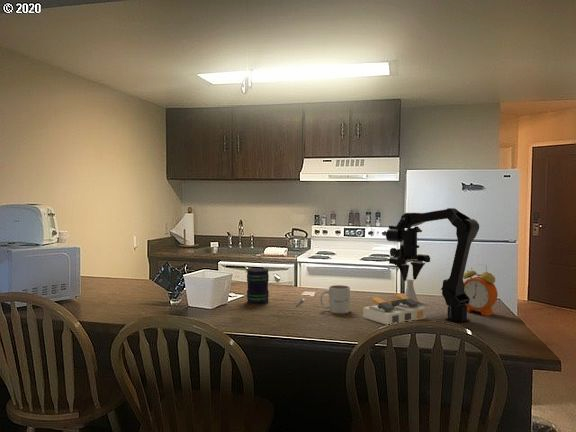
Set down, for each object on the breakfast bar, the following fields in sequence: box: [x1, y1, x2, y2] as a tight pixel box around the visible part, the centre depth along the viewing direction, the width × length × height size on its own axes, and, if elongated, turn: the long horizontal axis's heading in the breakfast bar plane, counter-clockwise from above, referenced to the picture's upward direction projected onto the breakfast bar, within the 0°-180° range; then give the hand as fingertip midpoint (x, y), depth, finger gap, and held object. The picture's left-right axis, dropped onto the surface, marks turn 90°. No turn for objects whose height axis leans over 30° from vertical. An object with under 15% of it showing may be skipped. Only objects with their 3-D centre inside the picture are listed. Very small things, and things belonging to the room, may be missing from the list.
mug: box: [319, 284, 351, 314], centre depth 199 cm, size 12×9×10 cm
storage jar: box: [246, 267, 270, 306], centre depth 214 cm, size 10×10×15 cm
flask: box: [403, 278, 419, 303], centre depth 216 cm, size 7×7×10 cm
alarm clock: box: [463, 263, 499, 317], centre depth 195 cm, size 13×6×20 cm, turn 40°
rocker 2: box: [384, 299, 406, 307], centre depth 186 cm, size 9×4×2 cm, turn 32°
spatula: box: [295, 291, 316, 308], centre depth 220 cm, size 6×29×2 cm, turn 166°
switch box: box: [362, 303, 427, 326], centre depth 186 cm, size 14×20×5 cm
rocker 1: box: [370, 296, 394, 312], centre depth 183 cm, size 9×4×2 cm, turn 32°
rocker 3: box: [394, 293, 419, 307], centre depth 190 cm, size 9×4×2 cm, turn 32°
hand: (409, 280), depth 198 cm, fingers open, 5 cm apart
